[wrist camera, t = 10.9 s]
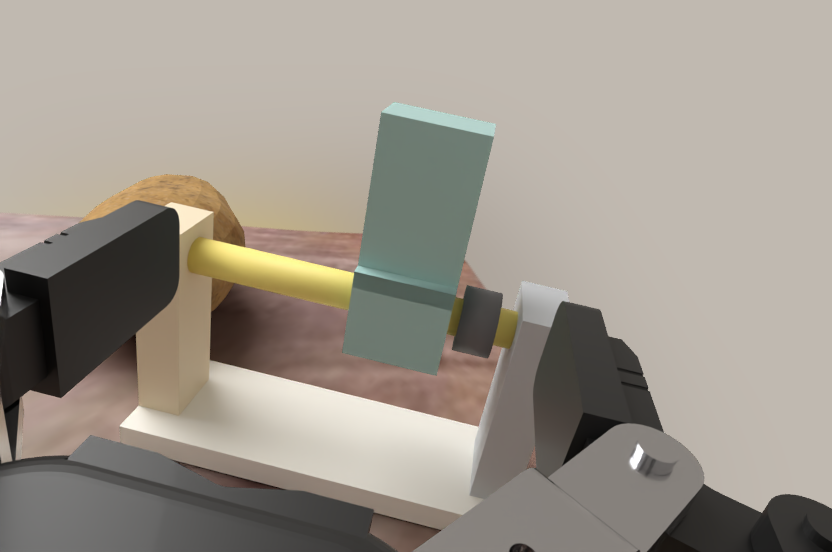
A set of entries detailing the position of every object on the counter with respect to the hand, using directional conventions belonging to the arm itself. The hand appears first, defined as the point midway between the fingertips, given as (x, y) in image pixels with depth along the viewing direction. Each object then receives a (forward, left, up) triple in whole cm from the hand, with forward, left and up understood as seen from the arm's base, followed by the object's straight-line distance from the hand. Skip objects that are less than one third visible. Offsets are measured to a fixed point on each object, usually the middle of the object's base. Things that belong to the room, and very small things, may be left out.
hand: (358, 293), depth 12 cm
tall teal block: (0, +11, -8) cm, 14 cm away
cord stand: (-2, +11, -15) cm, 19 cm away
